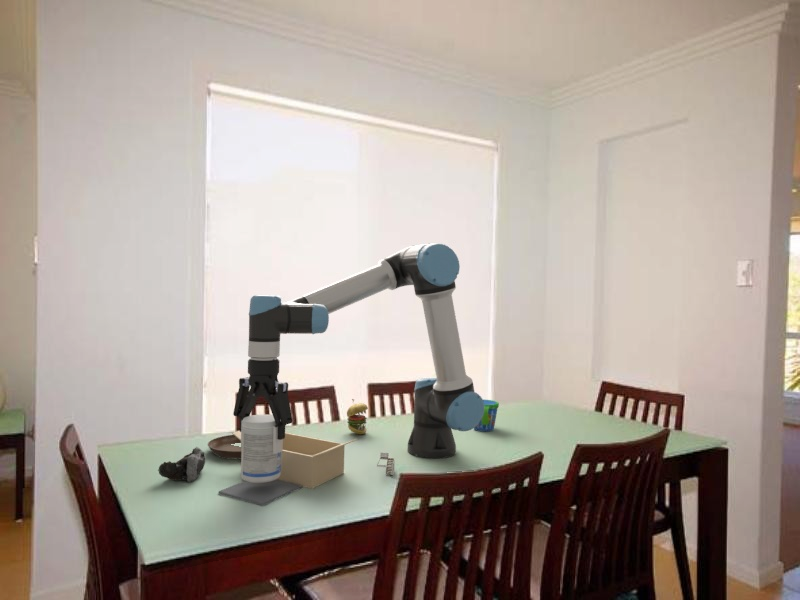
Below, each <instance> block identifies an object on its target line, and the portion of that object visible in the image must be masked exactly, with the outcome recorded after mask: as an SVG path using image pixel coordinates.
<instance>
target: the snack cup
mask: <svg viewBox="0 0 800 600" xmlns="http://www.w3.org/2000/svg"><path fill="white" fill-rule="evenodd" d="M483 402H484V414H483V417H482V419H481V420H480V421H479V424H478V425H477V426H476V427H474V428H473V429H474V430H475V431H479V432H492V431H494V429H495V426H496V425H495V424H496V419H497V412H498V408H499V406H500V405H499V402H498V401H496V400H492V399H483Z"/></svg>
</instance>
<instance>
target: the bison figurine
mask: <svg viewBox="0 0 800 600" xmlns="http://www.w3.org/2000/svg"><path fill="white" fill-rule="evenodd" d="M205 464H206V456H205V452H204V450H202V449H201V448H199V447H198V446H195V447H194V448H192V451H191V452H190V453H188V454H186V455H184V456H183V457H182V458H180V459H179V460H177V461H176V462H172V461H167V462H166V461H163V463H161V464H160V465H159V466H158V469H157V471H158V474H159V475H160V476H161V477H162V478H166V479H168V480H170V481H171V480H172V481H183V480H186V481H187V482H188V483H189V482H190V483H191V482H192V481H194V480H196V479H197V478H198V477H199V475H200V474H201V473H202V471H203V469H204V467H205Z"/></svg>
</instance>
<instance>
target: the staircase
mask: <svg viewBox="0 0 800 600" xmlns="http://www.w3.org/2000/svg"><path fill="white" fill-rule="evenodd" d="M381 460H385V461H386V464H385V465H383V464H379V463H380V461H381ZM376 467H379V468H380V467H382V468H386V469H385V475H386V474H387V475H393V476H394V474H393V473H395V458H391V457H390V458H389V452H380V458H379V460H378V461H377V463H376Z"/></svg>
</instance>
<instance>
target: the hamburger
mask: <svg viewBox="0 0 800 600" xmlns="http://www.w3.org/2000/svg"><path fill="white" fill-rule="evenodd" d="M351 400H352V403H353V404H352V405H351V406H350V407H348V409H347V411H346V416H347V425H348V426H347V427H348V429H349V430H350V431H351V432H352V433H354V434H356V435H365V434H366V432H367V431H368V430H367V429H368V428H367V427H366V424H367V418H368V417H366V416H365V415H366V414H367V410H368V406H367V404H365V402H364V403H363V402H358V403H354V401H355V399H354V398H352V399H351ZM364 414H365V415H364Z"/></svg>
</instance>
